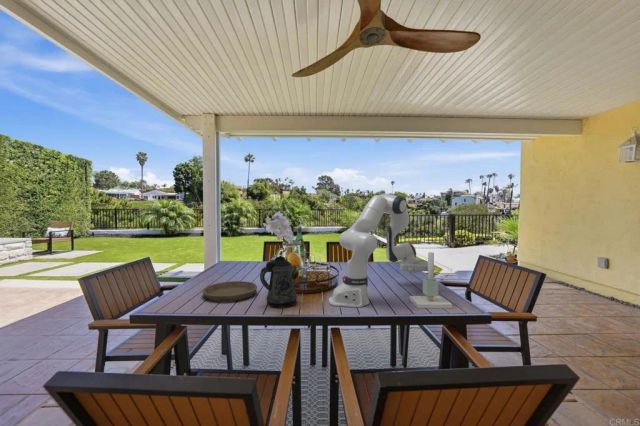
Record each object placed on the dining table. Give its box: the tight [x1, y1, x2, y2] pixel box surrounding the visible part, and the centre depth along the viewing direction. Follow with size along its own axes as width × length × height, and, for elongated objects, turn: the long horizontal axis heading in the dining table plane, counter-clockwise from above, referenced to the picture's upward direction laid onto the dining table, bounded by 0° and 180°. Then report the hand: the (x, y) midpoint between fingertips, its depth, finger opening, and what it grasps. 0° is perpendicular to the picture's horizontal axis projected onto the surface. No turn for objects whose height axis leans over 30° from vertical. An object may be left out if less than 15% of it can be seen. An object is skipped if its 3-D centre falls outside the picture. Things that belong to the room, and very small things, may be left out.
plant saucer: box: [201, 280, 258, 303], centre depth 176 cm, size 31×31×5 cm
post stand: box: [409, 251, 453, 309], centre depth 163 cm, size 18×14×28 cm
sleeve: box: [422, 277, 440, 296], centre depth 163 cm, size 6×6×8 cm
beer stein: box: [259, 256, 298, 309], centre depth 161 cm, size 16×19×25 cm
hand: (421, 269), depth 176 cm, fingers open, 8 cm apart
